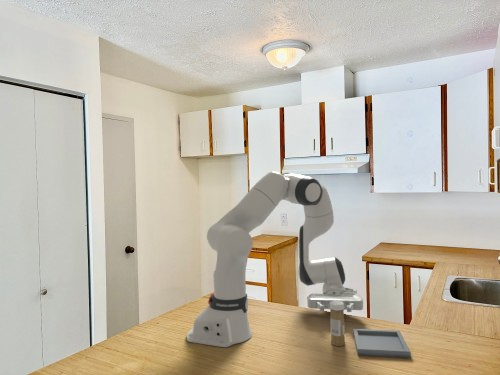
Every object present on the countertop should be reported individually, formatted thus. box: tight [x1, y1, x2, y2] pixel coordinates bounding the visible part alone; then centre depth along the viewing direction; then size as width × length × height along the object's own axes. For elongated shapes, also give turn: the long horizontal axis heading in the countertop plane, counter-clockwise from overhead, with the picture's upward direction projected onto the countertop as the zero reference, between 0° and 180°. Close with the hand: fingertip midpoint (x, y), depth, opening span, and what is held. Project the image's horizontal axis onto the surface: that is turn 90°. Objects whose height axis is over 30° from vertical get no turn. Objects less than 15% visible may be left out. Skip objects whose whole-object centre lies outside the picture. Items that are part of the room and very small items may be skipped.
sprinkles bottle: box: [329, 301, 346, 347], centre depth 119 cm, size 5×5×14 cm
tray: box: [352, 328, 412, 359], centre depth 117 cm, size 15×15×2 cm
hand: (335, 309), depth 131 cm, fingers open, 8 cm apart
